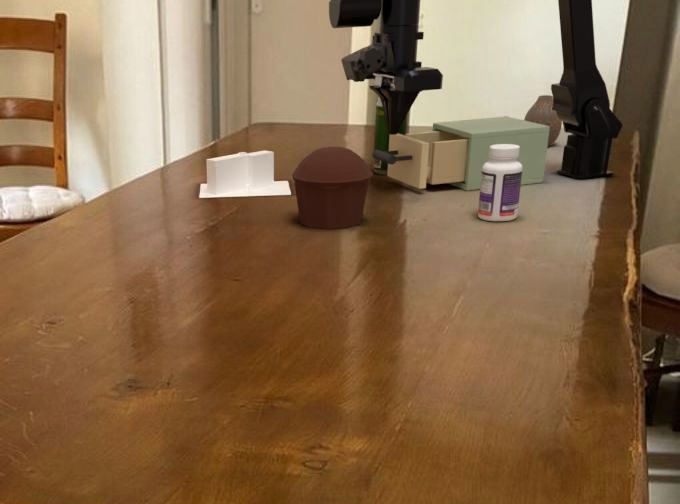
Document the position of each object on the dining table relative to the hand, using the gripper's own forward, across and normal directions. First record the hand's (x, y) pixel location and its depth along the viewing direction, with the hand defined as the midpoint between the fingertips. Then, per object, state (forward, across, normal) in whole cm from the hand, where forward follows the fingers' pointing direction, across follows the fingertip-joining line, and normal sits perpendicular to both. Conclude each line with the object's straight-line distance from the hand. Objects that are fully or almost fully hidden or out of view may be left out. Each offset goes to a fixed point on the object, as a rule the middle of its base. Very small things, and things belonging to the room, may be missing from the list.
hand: (392, 134), depth 158 cm
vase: (+9, -23, +42) cm, 49 cm away
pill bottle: (+9, +24, +5) cm, 26 cm away
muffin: (+9, +16, -17) cm, 25 cm away
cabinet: (+8, 0, +17) cm, 19 cm away
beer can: (+9, -13, +6) cm, 17 cm away
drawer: (+8, 0, +6) cm, 10 cm away
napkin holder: (+9, -11, -21) cm, 25 cm away
